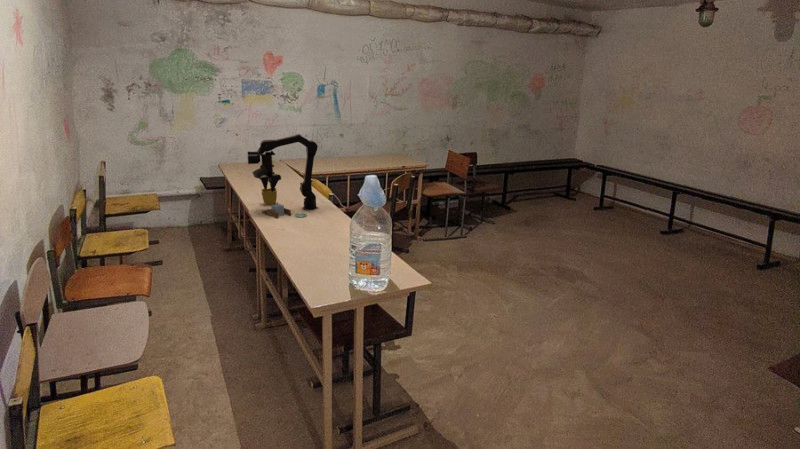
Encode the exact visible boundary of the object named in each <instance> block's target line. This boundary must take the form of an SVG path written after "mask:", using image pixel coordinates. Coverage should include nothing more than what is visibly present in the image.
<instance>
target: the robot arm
mask: <svg viewBox="0 0 800 449" xmlns="http://www.w3.org/2000/svg"><path fill="white" fill-rule="evenodd" d="M296 143H300V144H301V145H302V146H304V147H305V151H306V152H305V153H306V160H305V167H304V168H305V169H304V178H303V181H302V182H301V181H300V182H299V185H300V187H299V191H300V193H301V195H302V196H303V197H304V198H303V207H302V209H304V210H307V211H311V210H317V209H319V208H318V206H317V196H316V195H315V193H314V191H313V188H312V177H313V176H312V175H313V167H314V161H315V156H316V154H317V151H318V149H319V148H318V143H317V142H316V141H314V140H311V139H310V140H309V139H308V138H305V137H304V136H302V135H301V134H299V133H298V134H295V135H290V136H287V137H281V138H278V139H277V138H276V139H264V140H262V141H261V142H260V144H259V145H260V146H259V148H258V149H257V151H247V164H248V165H254V164H255V165H256V164H258V165H259V163H260V162H261V164H260V166H259V168H257V169H256V170H253V171H252V175H253V177H254V178H256V179H259V180H260V181H261V183H262V186H263V189H268V184H269V186H270V188H271V192H273V191H274V189H275V188H276V187H277V184H278V182H279V181H280V180H282V175H280V174H277V173H275V172H274V167H275V165H274V164H273V156H276V152H274V151H273V150H274V149H277V148H279V147H283V146H287V145H291V144H296Z"/></svg>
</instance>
